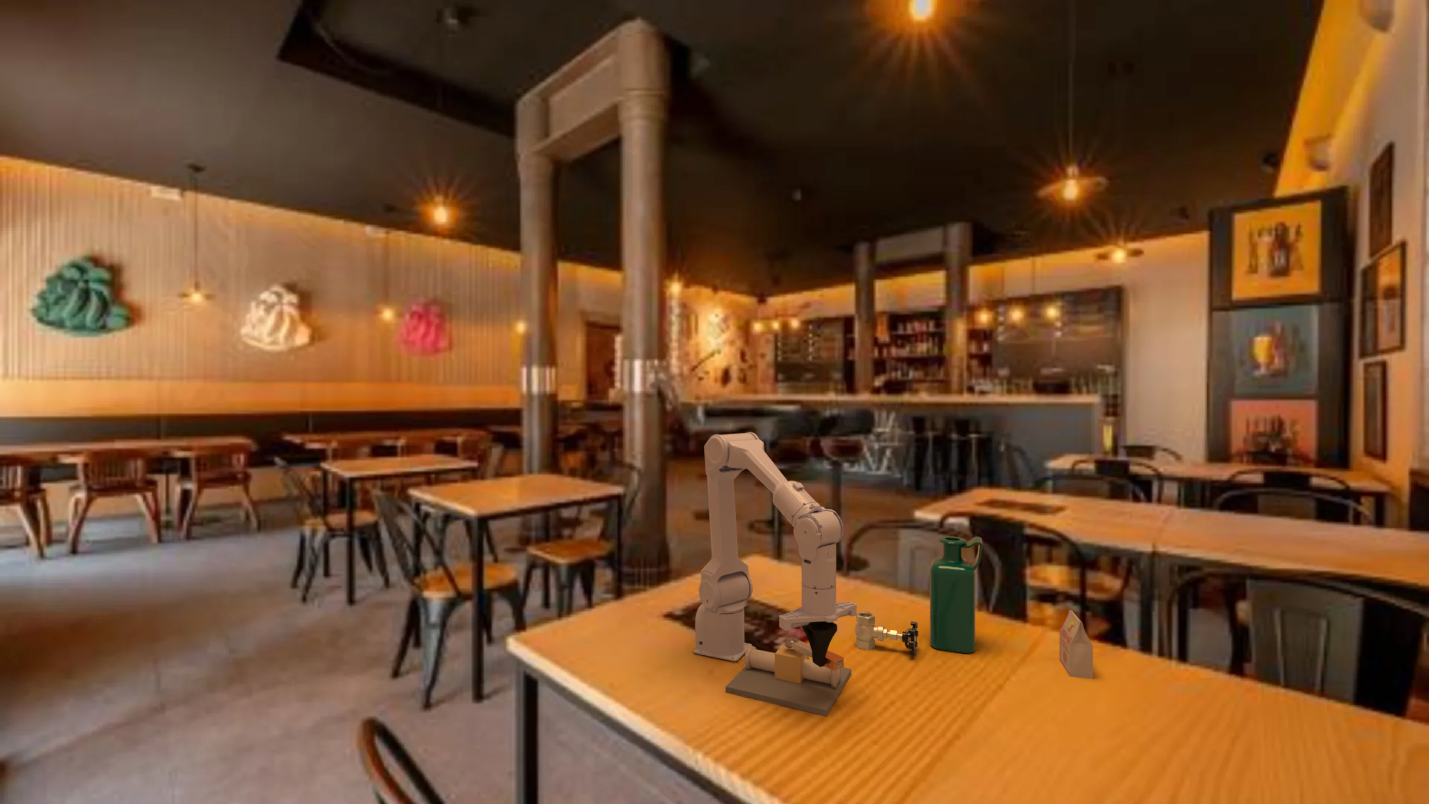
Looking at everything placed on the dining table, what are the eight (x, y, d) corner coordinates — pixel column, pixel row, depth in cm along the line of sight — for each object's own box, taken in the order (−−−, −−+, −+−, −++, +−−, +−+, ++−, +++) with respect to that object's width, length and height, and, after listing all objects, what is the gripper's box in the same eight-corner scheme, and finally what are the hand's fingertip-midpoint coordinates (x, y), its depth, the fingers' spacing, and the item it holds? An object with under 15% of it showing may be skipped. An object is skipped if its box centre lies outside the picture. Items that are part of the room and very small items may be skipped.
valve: (851, 651, 123) (913, 662, 118) (851, 618, 123) (913, 628, 117) (858, 638, 129) (918, 648, 124) (858, 607, 129) (918, 616, 123)
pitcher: (929, 649, 123) (929, 540, 122) (931, 633, 131) (931, 531, 130) (982, 656, 119) (982, 544, 119) (981, 640, 127) (981, 534, 127)
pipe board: (725, 692, 106) (725, 661, 106) (760, 655, 121) (760, 628, 121) (826, 716, 98) (826, 683, 98) (851, 674, 113) (851, 645, 112)
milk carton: (1081, 662, 117) (1081, 610, 116) (1092, 678, 110) (1093, 623, 110) (1059, 660, 118) (1059, 608, 117) (1069, 676, 111) (1070, 621, 111)
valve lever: (781, 648, 110) (781, 637, 110) (791, 644, 112) (791, 634, 112) (833, 673, 101) (833, 661, 101) (844, 668, 102) (844, 657, 102)
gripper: (796, 597, 95) (796, 684, 96) (868, 584, 102) (868, 664, 102) (772, 585, 102) (772, 666, 102) (841, 572, 108) (841, 648, 109)
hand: (818, 664), depth 103 cm, fingers closed, pressing on valve lever
